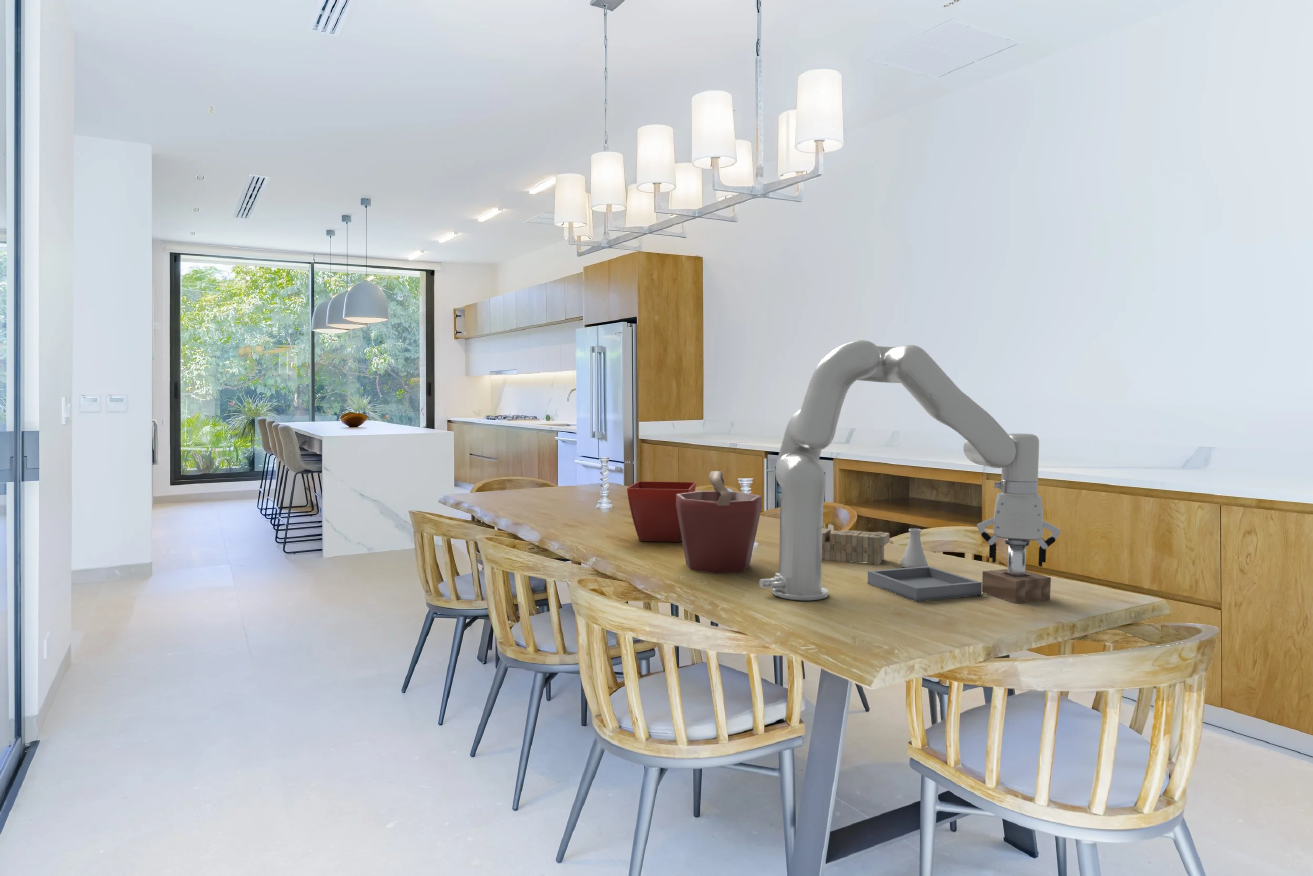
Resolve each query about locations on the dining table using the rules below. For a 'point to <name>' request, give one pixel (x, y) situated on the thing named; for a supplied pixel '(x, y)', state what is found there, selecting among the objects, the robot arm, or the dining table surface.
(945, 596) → the tray
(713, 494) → the bucket
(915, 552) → the flask
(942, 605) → the dining table surface
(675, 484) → the plant pot
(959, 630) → the dining table surface
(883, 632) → the dining table surface
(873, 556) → the block tower
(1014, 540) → the steel pin
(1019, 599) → the socket block
